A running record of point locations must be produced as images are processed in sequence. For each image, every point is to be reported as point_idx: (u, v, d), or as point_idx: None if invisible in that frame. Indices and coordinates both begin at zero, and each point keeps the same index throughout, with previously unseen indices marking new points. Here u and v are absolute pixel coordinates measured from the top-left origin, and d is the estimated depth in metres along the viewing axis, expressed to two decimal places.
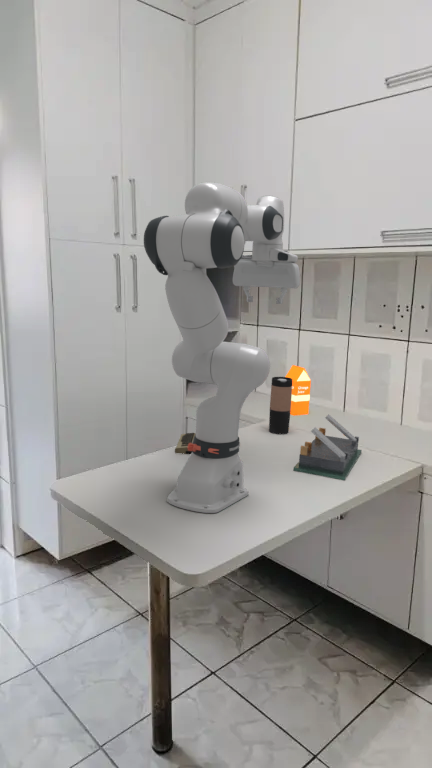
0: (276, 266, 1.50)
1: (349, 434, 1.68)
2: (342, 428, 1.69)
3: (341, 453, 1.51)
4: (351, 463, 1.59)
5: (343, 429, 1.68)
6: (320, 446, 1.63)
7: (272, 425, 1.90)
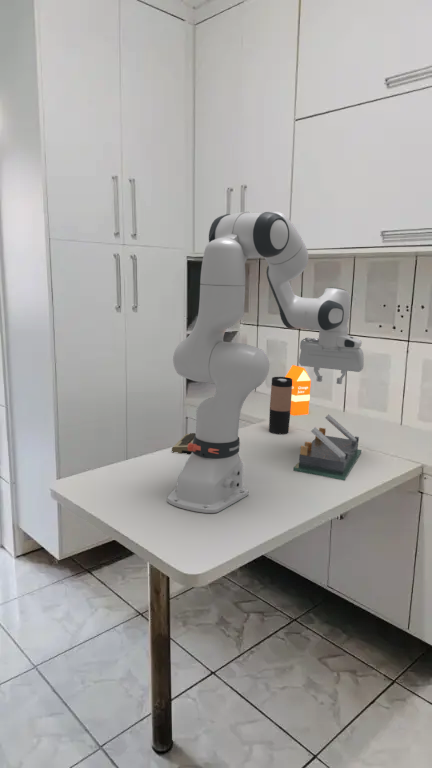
0: (342, 351, 1.63)
1: (349, 434, 1.68)
2: (342, 428, 1.69)
3: (341, 453, 1.51)
4: (351, 463, 1.59)
5: (343, 429, 1.68)
6: (320, 446, 1.63)
7: (272, 425, 1.90)
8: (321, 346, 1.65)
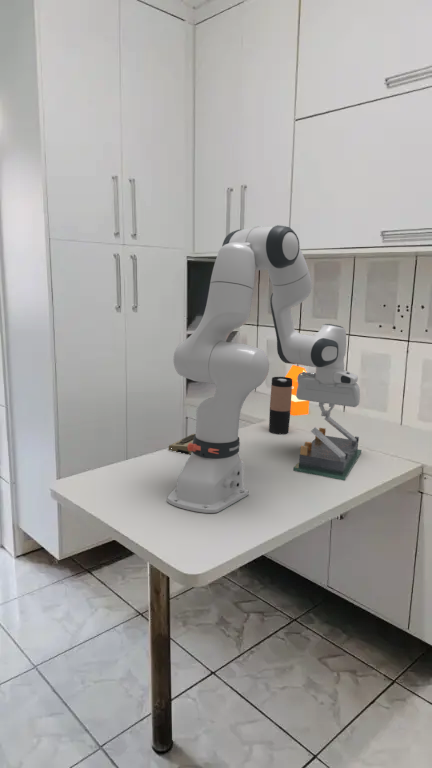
0: (339, 387, 1.65)
1: (349, 434, 1.68)
2: (342, 428, 1.69)
3: (341, 453, 1.51)
4: (351, 463, 1.59)
5: (343, 429, 1.68)
6: (320, 446, 1.63)
7: (272, 425, 1.90)
8: (318, 381, 1.68)
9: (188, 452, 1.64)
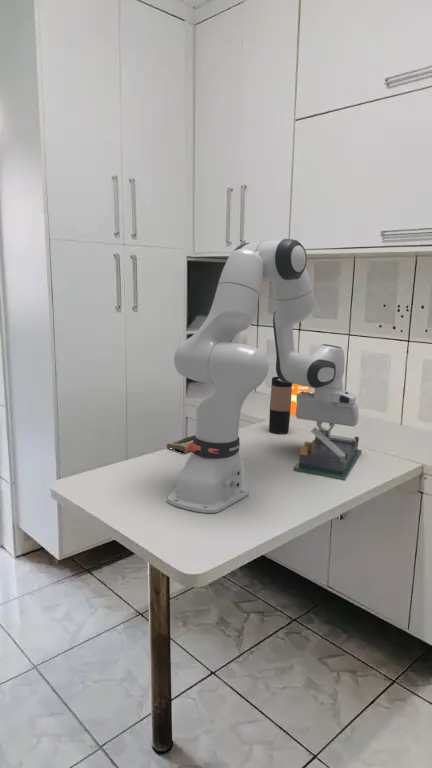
0: (337, 406, 1.66)
1: (346, 438, 1.69)
2: (338, 437, 1.70)
3: (341, 453, 1.51)
4: (351, 463, 1.59)
5: (339, 437, 1.69)
6: (320, 446, 1.63)
7: (272, 425, 1.90)
8: (317, 400, 1.69)
9: (183, 452, 1.64)
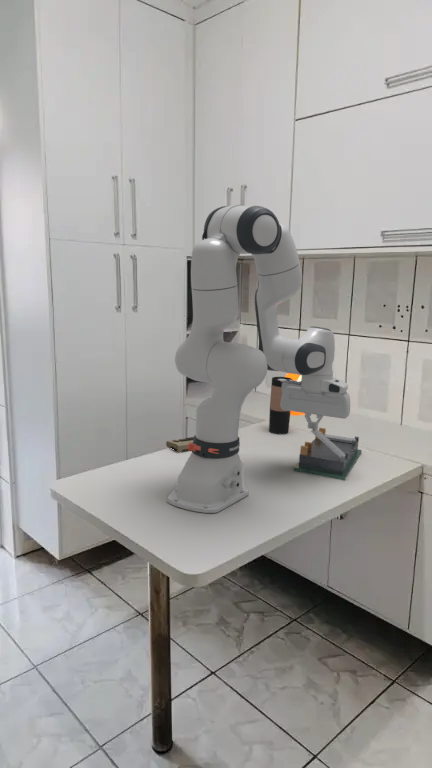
0: (326, 396, 1.49)
1: (346, 438, 1.69)
2: (338, 437, 1.70)
3: (341, 453, 1.51)
4: (351, 463, 1.59)
5: (339, 437, 1.69)
6: (320, 446, 1.63)
7: (272, 425, 1.90)
8: (304, 389, 1.52)
9: (177, 450, 1.65)
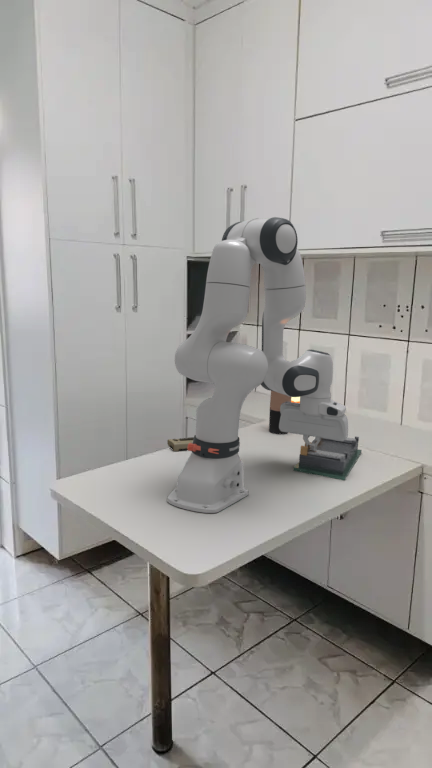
0: (325, 419, 1.50)
1: (346, 438, 1.69)
2: None
3: (339, 455, 1.52)
4: (351, 463, 1.59)
5: None
6: (320, 446, 1.63)
7: (272, 425, 1.90)
8: (302, 412, 1.53)
9: None
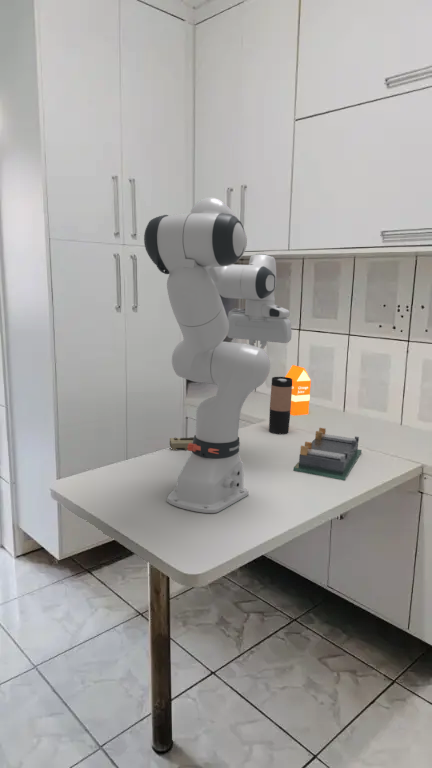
0: (268, 321, 1.55)
1: (346, 438, 1.69)
2: (338, 437, 1.70)
3: (339, 455, 1.52)
4: (351, 463, 1.59)
5: (339, 437, 1.69)
6: (320, 446, 1.63)
7: (272, 425, 1.90)
8: (247, 316, 1.58)
9: None
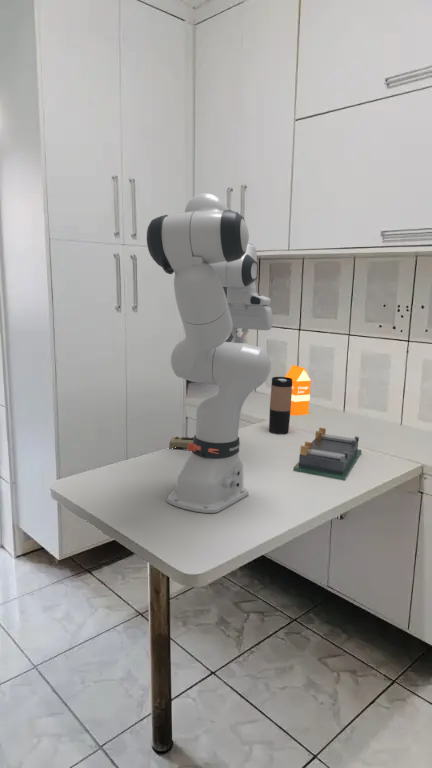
0: (249, 309, 1.57)
1: (346, 438, 1.69)
2: (338, 437, 1.70)
3: (339, 455, 1.52)
4: (351, 463, 1.59)
5: (339, 437, 1.69)
6: (320, 446, 1.63)
7: (272, 425, 1.90)
8: (229, 304, 1.60)
9: None
